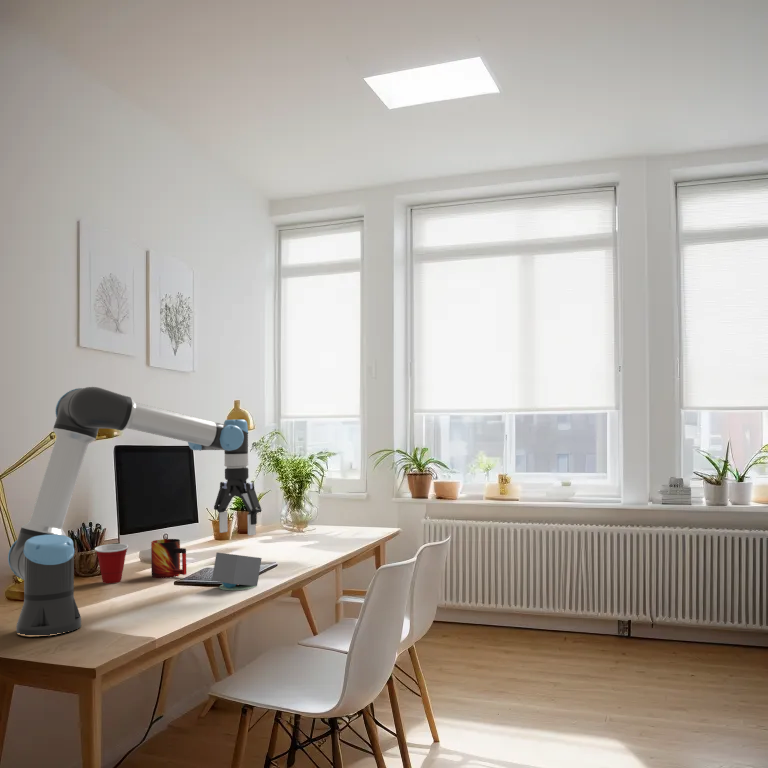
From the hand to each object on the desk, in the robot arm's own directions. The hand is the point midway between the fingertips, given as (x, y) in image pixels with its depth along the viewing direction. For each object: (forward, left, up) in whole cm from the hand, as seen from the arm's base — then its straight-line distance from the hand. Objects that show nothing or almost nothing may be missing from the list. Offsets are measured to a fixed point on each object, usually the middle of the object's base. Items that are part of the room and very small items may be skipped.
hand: (237, 533), depth 241 cm
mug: (0, +35, -17) cm, 39 cm away
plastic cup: (-18, +43, -17) cm, 50 cm away
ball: (-3, 0, -14) cm, 15 cm away
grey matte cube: (-2, 0, -16) cm, 16 cm away
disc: (0, 0, -17) cm, 17 cm away
